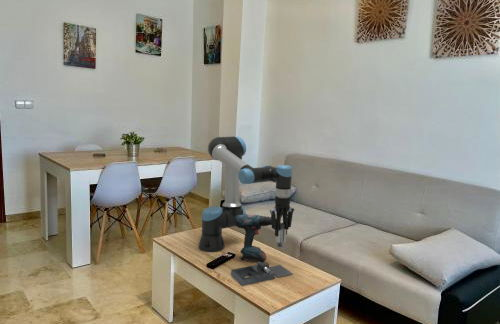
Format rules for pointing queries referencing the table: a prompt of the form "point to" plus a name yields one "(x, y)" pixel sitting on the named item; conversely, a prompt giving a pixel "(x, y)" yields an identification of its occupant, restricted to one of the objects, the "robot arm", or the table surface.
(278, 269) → the rubber mat
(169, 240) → the table surface
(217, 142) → the robot arm
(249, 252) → the power drill
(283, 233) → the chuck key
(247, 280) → the plate
